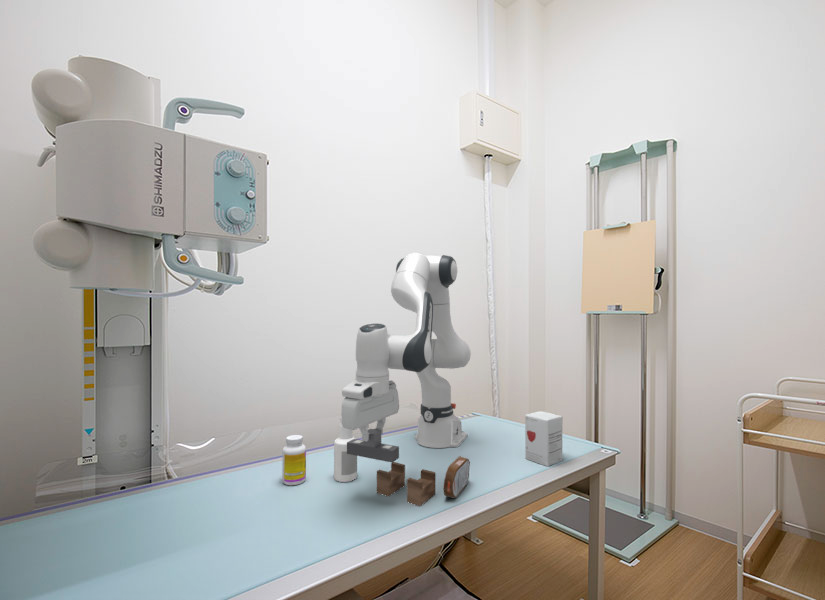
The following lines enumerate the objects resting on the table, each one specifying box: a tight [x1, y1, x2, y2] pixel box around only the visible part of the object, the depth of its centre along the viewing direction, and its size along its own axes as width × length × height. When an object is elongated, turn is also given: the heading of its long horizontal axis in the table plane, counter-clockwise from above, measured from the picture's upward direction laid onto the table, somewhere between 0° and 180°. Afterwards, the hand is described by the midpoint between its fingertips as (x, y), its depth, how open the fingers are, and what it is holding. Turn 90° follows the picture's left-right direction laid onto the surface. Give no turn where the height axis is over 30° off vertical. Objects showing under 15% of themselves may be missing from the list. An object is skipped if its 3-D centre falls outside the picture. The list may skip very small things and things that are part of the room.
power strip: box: [347, 428, 400, 464], centre depth 108 cm, size 4×14×6 cm, turn 63°
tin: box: [443, 456, 471, 499], centre depth 114 cm, size 15×3×8 cm, turn 154°
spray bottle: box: [333, 417, 358, 483], centre depth 123 cm, size 7×7×18 cm
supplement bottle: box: [281, 434, 307, 486], centre depth 120 cm, size 7×7×13 cm
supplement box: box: [524, 410, 563, 467], centre depth 137 cm, size 9×9×15 cm
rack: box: [376, 461, 437, 507], centre depth 112 cm, size 8×14×6 cm, turn 57°
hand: (372, 437), depth 108 cm, fingers closed on power strip, 4 cm apart
